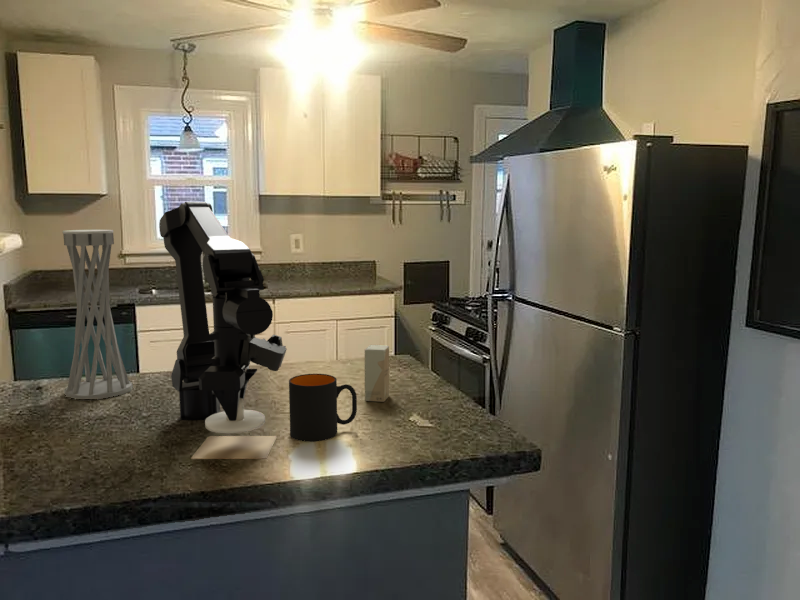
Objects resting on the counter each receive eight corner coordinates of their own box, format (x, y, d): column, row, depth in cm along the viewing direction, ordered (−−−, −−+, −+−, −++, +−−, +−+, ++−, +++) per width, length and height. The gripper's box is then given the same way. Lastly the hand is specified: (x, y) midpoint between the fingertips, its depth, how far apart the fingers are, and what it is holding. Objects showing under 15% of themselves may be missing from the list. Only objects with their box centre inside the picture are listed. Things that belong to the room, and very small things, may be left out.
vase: (117, 379, 152) (108, 228, 147) (143, 390, 143) (133, 230, 137) (55, 391, 142) (42, 230, 137) (78, 404, 133) (65, 232, 128)
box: (384, 402, 135) (384, 350, 133) (364, 401, 135) (363, 349, 134) (389, 395, 140) (389, 344, 138) (370, 394, 140) (369, 344, 139)
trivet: (190, 462, 103) (190, 458, 103) (208, 439, 113) (208, 436, 113) (266, 461, 104) (266, 458, 103) (277, 439, 113) (277, 436, 113)
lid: (197, 433, 103) (196, 409, 102) (214, 414, 112) (213, 391, 112) (258, 433, 103) (257, 409, 102) (270, 414, 112) (269, 391, 112)
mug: (362, 439, 114) (362, 381, 112) (294, 447, 110) (292, 387, 108) (351, 424, 121) (350, 370, 120) (286, 431, 118) (285, 375, 116)
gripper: (271, 336, 96) (274, 437, 98) (290, 314, 115) (292, 400, 117) (195, 336, 96) (200, 437, 98) (227, 314, 114) (230, 400, 117)
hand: (235, 417), depth 107 cm, fingers closed on lid, 3 cm apart
